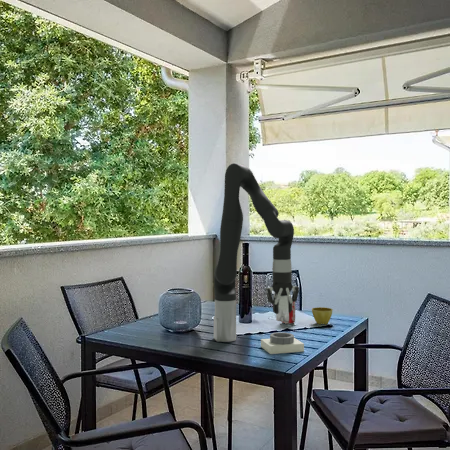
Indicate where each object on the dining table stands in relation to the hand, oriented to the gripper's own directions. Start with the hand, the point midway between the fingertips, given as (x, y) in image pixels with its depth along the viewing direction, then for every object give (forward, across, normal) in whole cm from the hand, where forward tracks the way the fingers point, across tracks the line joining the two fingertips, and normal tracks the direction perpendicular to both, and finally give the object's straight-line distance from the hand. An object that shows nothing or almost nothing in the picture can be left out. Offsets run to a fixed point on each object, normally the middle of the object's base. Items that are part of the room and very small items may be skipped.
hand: (282, 312), depth 188 cm
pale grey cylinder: (+3, 0, 0) cm, 3 cm away
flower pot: (+15, +36, +36) cm, 53 cm away
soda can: (+15, +20, +42) cm, 48 cm away
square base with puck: (+14, 0, 0) cm, 14 cm away
